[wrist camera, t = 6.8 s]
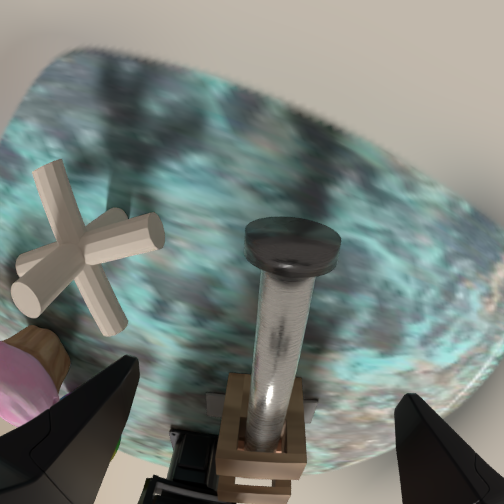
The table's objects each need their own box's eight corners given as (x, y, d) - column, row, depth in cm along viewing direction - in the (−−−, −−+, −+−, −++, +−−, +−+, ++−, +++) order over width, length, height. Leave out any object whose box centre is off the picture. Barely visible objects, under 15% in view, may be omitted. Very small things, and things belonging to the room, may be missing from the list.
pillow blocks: (285, 436, 29) (285, 505, 21) (227, 431, 29) (217, 500, 21) (301, 377, 25) (306, 463, 17) (229, 372, 25) (215, 457, 17)
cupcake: (32, 362, 28) (-11, 423, 18) (7, 297, 24) (-53, 359, 15) (96, 382, 27) (57, 458, 18) (74, 314, 24) (13, 395, 15)
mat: (310, 421, 27) (310, 423, 27) (207, 413, 28) (206, 415, 27) (317, 400, 26) (317, 403, 26) (206, 392, 26) (205, 394, 26)
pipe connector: (160, 124, 17) (58, 144, 8) (206, 272, 21) (165, 385, 12) (42, 174, 19) (-61, 224, 10) (90, 294, 23) (22, 381, 14)
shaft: (286, 429, 22) (287, 472, 18) (235, 426, 22) (230, 468, 19) (332, 221, 15) (350, 257, 11) (248, 213, 15) (241, 248, 11)
